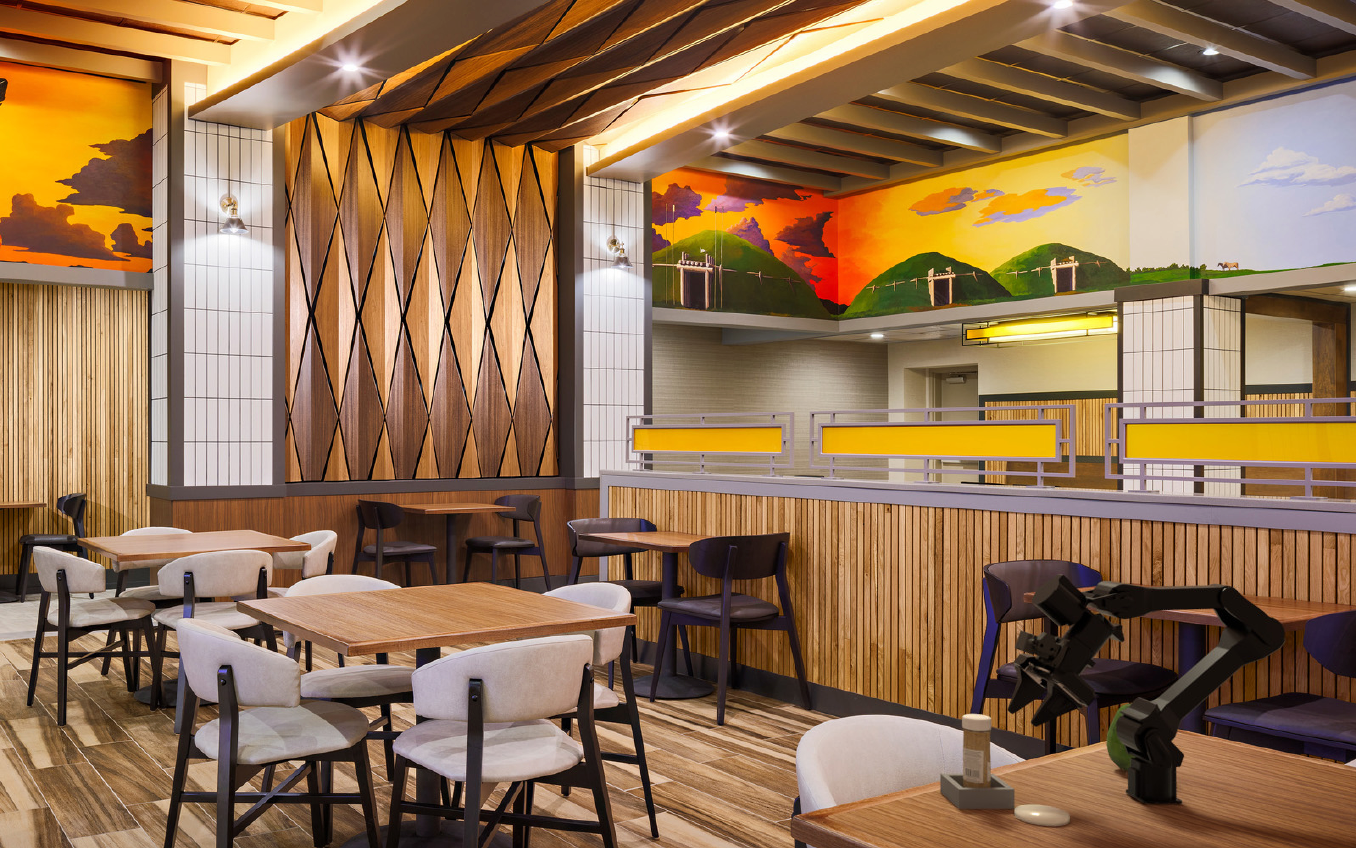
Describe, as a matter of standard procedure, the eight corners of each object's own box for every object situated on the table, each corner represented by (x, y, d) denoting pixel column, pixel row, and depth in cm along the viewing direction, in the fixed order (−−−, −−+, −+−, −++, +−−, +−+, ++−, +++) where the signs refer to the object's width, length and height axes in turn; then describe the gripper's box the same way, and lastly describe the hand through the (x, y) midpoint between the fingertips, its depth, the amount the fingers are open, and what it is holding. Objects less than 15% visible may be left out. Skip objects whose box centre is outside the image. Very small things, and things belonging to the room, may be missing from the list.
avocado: (1135, 779, 185) (1135, 709, 185) (1097, 768, 192) (1097, 701, 192) (1164, 773, 189) (1163, 705, 189) (1126, 763, 195) (1125, 697, 196)
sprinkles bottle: (997, 802, 169) (997, 717, 170) (978, 806, 167) (978, 720, 168) (974, 794, 173) (975, 712, 174) (955, 798, 171) (956, 714, 172)
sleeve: (993, 792, 175) (993, 773, 175) (1014, 808, 166) (1014, 789, 166) (940, 792, 174) (940, 773, 174) (958, 809, 165) (958, 789, 165)
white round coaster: (1055, 809, 166) (1055, 804, 166) (1078, 826, 158) (1078, 820, 158) (1006, 809, 165) (1006, 804, 165) (1027, 826, 157) (1027, 820, 157)
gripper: (1020, 606, 182) (963, 676, 181) (1069, 620, 164) (1007, 698, 162) (1067, 648, 183) (1011, 718, 181) (1122, 666, 164) (1060, 745, 162)
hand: (1020, 718), depth 172 cm, fingers open, 9 cm apart
